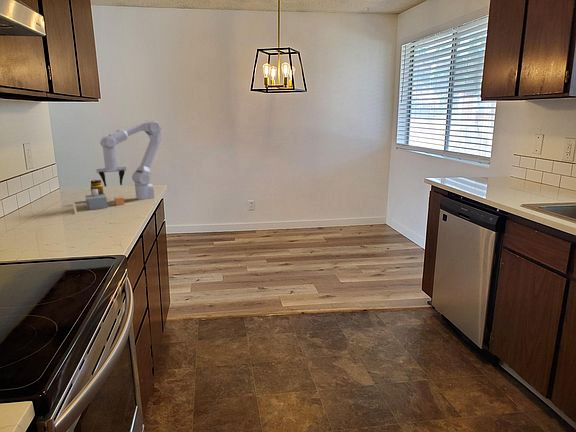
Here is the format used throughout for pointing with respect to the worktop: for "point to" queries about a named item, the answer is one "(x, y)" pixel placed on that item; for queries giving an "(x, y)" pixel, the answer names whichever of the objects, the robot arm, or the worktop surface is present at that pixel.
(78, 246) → the worktop surface
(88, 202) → the cover
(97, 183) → the condiment
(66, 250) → the worktop surface
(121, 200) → the block
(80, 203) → the worktop surface
